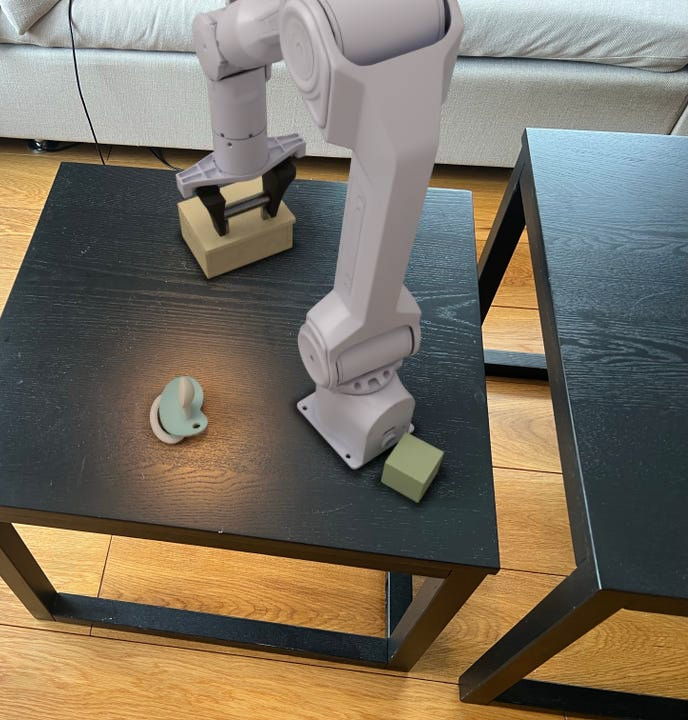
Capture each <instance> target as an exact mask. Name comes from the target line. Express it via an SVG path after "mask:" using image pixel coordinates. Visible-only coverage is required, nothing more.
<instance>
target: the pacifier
mask: <svg viewBox="0 0 688 720" xmlns="http://www.w3.org/2000/svg"><path fill="white" fill-rule="evenodd" d="M203 403H204V391H203V387H202V386H201V384H200V383H199V382H198V381H197V380H196V379H195V378H193V377H192V376H186V375H182V376H177V377H175V378H173V379H172V380H171V381H170V382H168V383H167V384H166V385H165V387H164V389H162V393H161V394H159V395H158V396H157V397H156V398H155V399H154V401H153V402H152V404H151V407H150V412H149V422H150V427H151V429H152V432H153V434H154V435H155V436H156V437H157V439H159V440H160V441H161V442H163V443H165V444H171V445H173V444H177V443H179V442H181V441H182V440H183V439H184V438H185V437H193V436H197V435H199V434H201V433H203V432H204V431H205V430H206V429H207V427H208V417H207V416H206V415H205V414H204V412H202V410H201V408H202V406H203ZM159 418H160V423H161V424H162V427H163V428H164V429H165V431H164V430H163V429H162V428H161V425H160V424H159ZM197 425H198V426H199V427H197V428H195V426H197Z"/></svg>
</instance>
